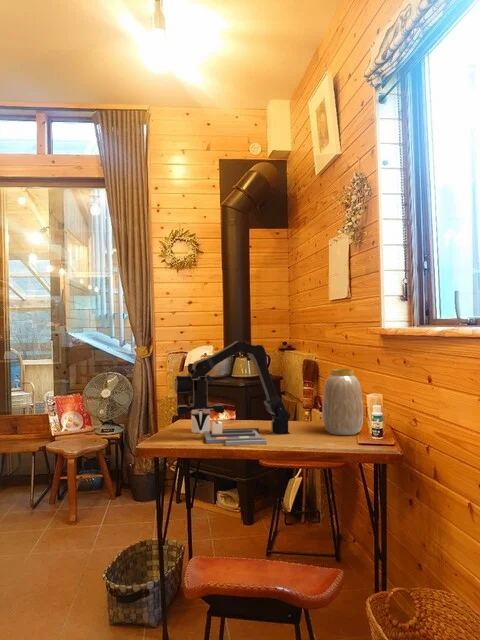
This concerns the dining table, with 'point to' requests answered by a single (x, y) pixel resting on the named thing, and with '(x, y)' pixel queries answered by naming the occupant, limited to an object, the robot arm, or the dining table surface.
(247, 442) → the grey flat bar
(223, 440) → the breaker panel
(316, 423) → the dining table surface
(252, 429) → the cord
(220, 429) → the breaker lever
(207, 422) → the jar
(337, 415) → the vase
